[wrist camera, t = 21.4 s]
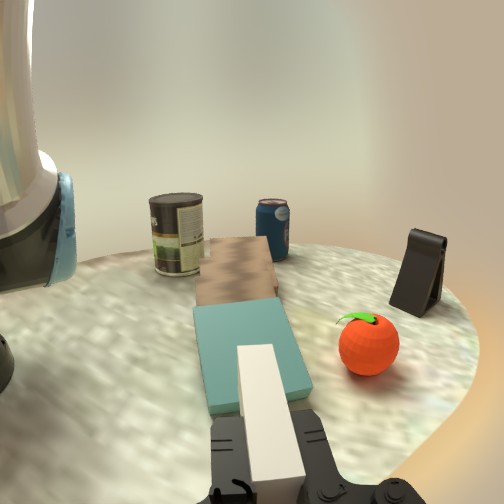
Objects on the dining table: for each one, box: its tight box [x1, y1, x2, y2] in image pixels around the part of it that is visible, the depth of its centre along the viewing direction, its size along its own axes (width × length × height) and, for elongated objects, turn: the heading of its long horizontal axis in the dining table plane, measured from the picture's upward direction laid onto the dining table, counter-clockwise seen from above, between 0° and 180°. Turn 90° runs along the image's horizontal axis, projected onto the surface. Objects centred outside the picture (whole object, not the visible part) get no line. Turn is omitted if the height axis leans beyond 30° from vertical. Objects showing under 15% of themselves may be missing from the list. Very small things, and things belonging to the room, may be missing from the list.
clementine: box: [336, 313, 399, 376], centre depth 33 cm, size 8×7×7 cm
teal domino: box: [193, 297, 313, 415], centre depth 32 cm, size 10×2×12 cm
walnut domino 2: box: [195, 271, 276, 306], centre depth 39 cm, size 10×2×12 cm
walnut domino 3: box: [210, 236, 278, 297], centre depth 53 cm, size 10×2×12 cm
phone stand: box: [389, 228, 447, 317], centre depth 46 cm, size 9×6×12 cm, turn 125°
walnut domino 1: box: [199, 254, 275, 292], centre depth 46 cm, size 10×2×12 cm
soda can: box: [256, 199, 290, 261], centre depth 67 cm, size 7×7×12 cm
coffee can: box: [149, 193, 204, 277], centre depth 61 cm, size 10×10×14 cm
